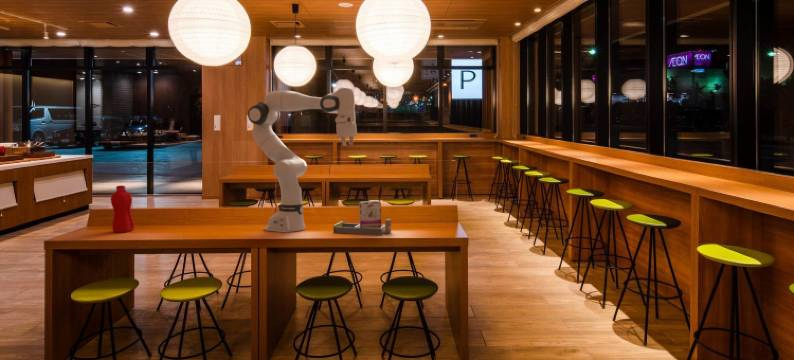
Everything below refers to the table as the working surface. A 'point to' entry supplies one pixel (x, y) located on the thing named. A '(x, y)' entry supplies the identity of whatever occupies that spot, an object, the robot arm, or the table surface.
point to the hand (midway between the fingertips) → (347, 145)
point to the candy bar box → (370, 214)
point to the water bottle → (122, 210)
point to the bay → (354, 229)
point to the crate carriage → (385, 228)
